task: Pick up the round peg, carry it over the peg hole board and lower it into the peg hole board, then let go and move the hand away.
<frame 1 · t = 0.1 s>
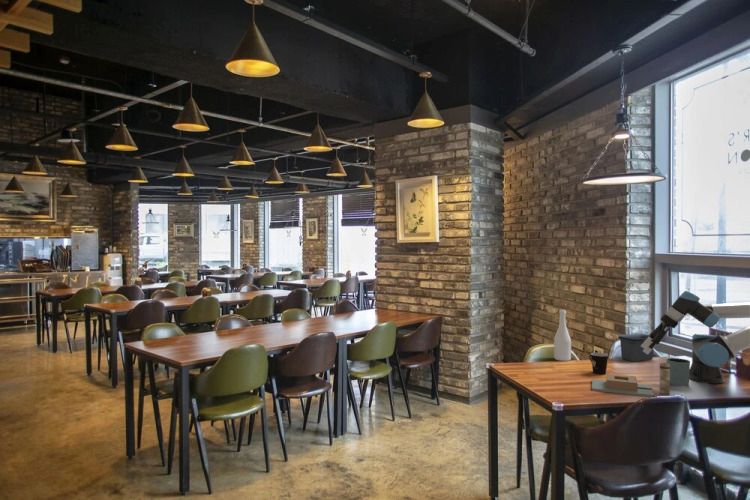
hand: (644, 350, 254), 15 cm above the table, tool tilted 35°, fingers open, 13 cm apart
grey-green tapered pot: (678, 384, 247), on the table
peg hole board: (621, 388, 239), on the table
coffee mug: (598, 372, 270), on the table
round peg: (664, 393, 231), on the table
storage bin: (638, 360, 299), on the table
wine bottle: (562, 359, 300), on the table
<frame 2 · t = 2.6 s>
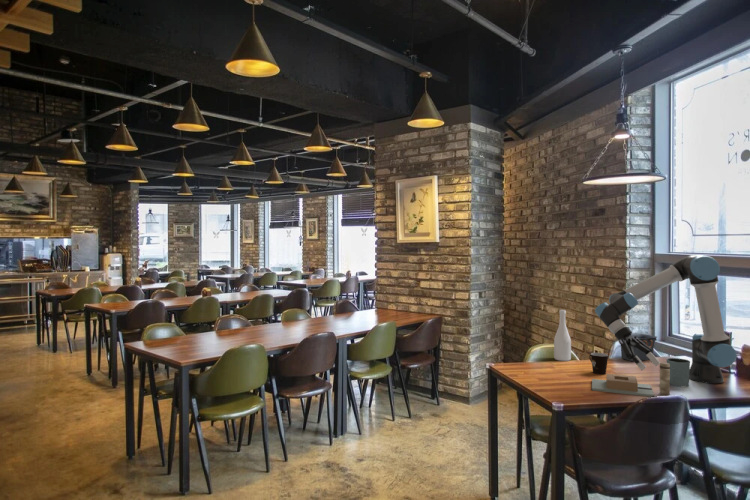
hand: (651, 366, 235), 11 cm above the table, tool tilted 45°, fingers open, 13 cm apart
nothing on the table moved.
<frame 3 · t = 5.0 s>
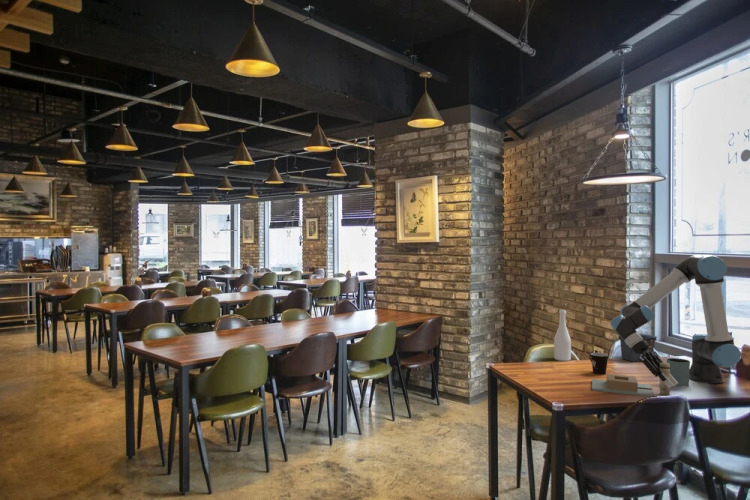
hand: (673, 385, 228), 5 cm above the table, tool tilted 45°, fingers closed on round peg, 4 cm apart
round peg: (664, 393, 231), on the table, touching gripper
everything else where it was.
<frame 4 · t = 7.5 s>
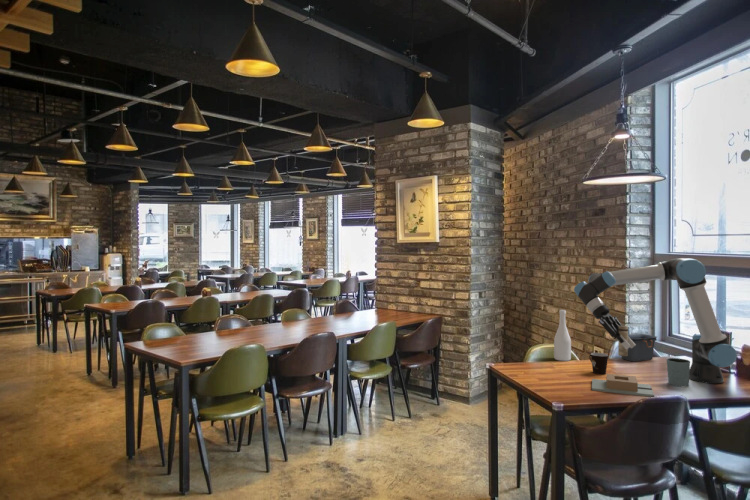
hand: (631, 347, 235), 21 cm above the table, tool tilted 45°, fingers closed on round peg, 4 cm apart
round peg: (622, 355, 239), point 16 cm above the table, touching gripper
everything else where it was.
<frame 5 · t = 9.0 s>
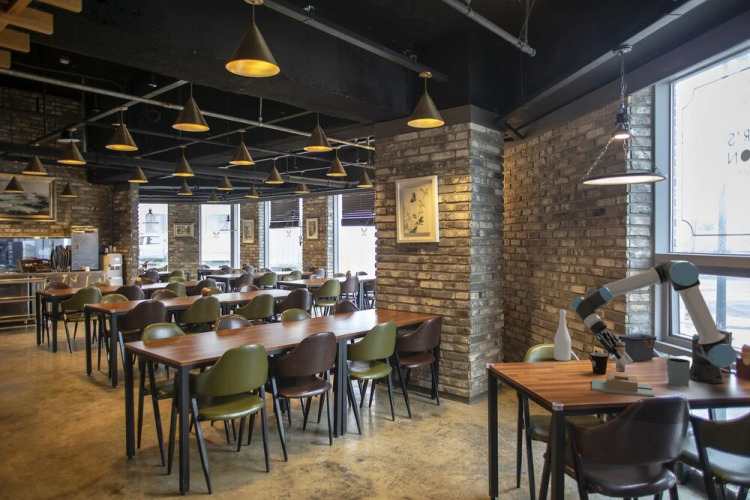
hand: (628, 363, 236), 13 cm above the table, tool tilted 45°, fingers closed on round peg, 4 cm apart
round peg: (620, 371, 239), point 8 cm above the table, touching gripper
everything else where it was.
when the fingers open (8 cm above the table, at t = 10.2 s): round peg drops 2 cm, resting on peg hole board.
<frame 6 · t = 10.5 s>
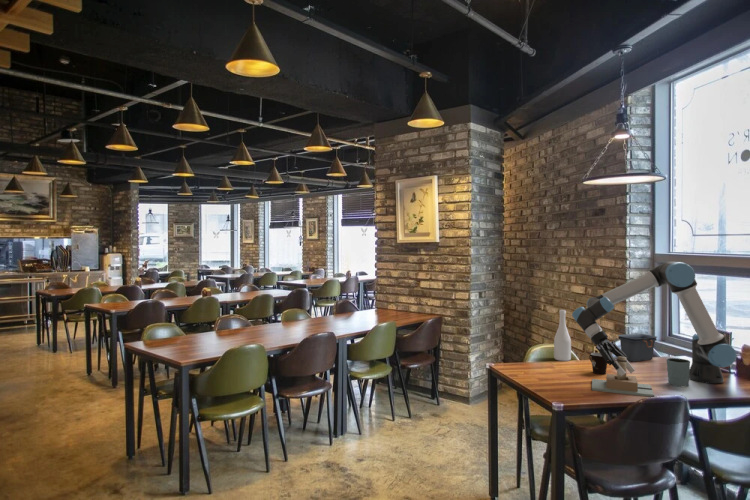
hand: (628, 373, 236), 8 cm above the table, tool tilted 45°, fingers open, 8 cm apart
round peg: (621, 386, 239), point 1 cm above the table, touching peg hole board
everything else where it was.
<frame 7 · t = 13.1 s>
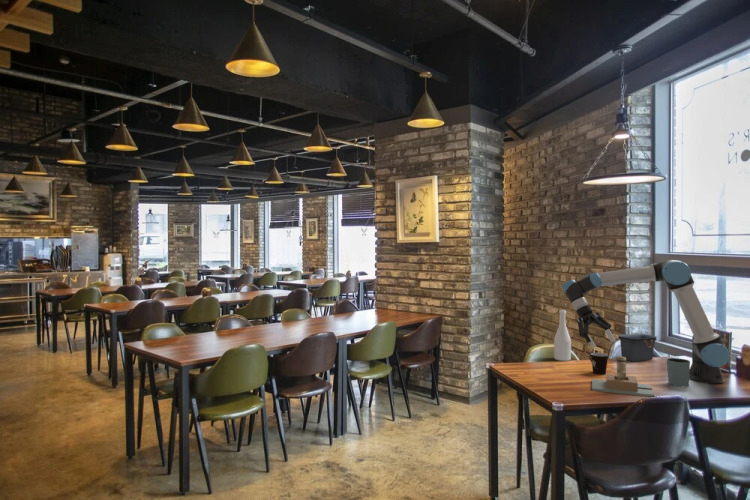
hand: (604, 344, 251), 19 cm above the table, tool tilted 35°, fingers open, 13 cm apart
nothing on the table moved.
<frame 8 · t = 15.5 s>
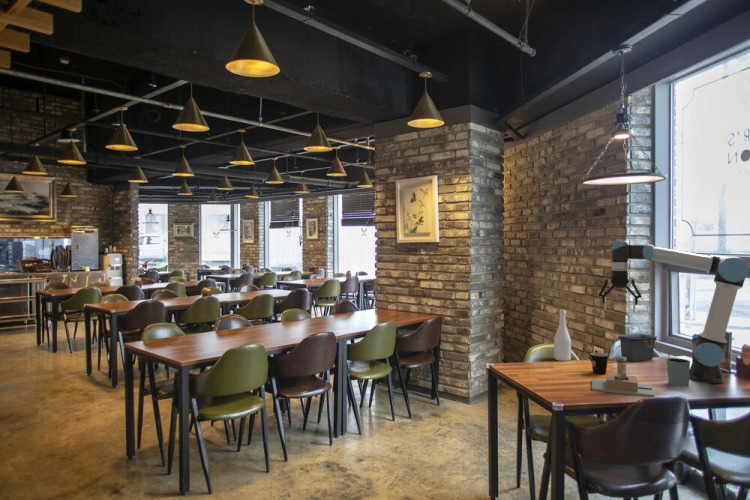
hand: (619, 310, 261), 35 cm above the table, tool pointing down, fingers open, 13 cm apart
nothing on the table moved.
at the end: round peg 0.0 cm off-centre on the peg hole board, point 1.0 cm above the peg hole board's base; round peg tilted 1°; the gripper is holding nothing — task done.
